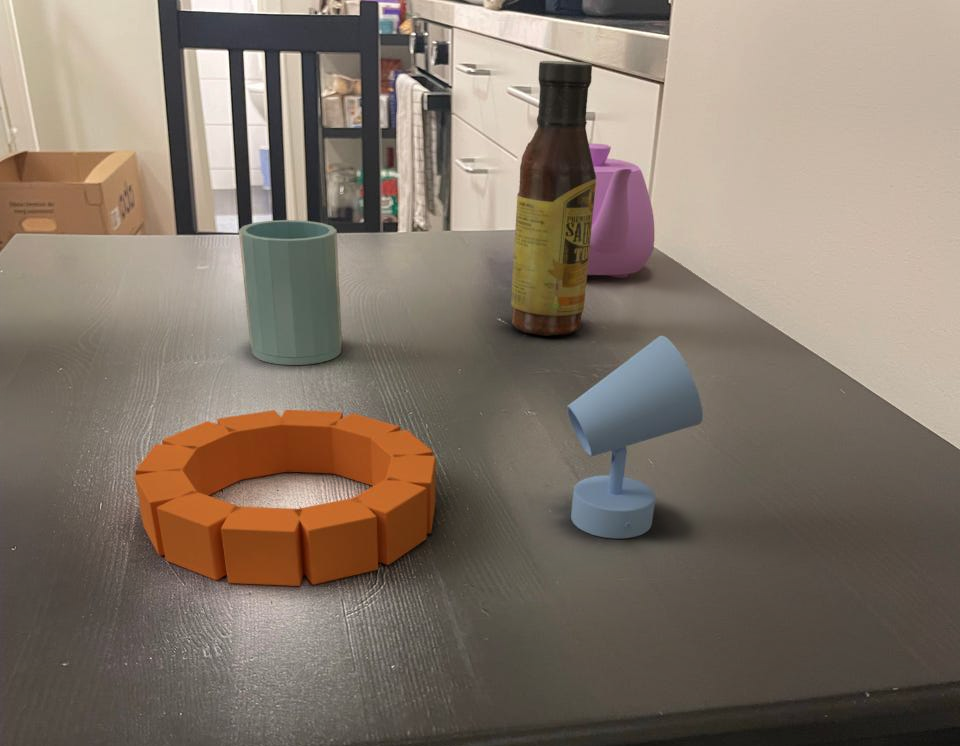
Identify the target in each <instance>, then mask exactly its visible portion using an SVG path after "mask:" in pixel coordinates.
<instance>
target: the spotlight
mask: <svg viewBox="0 0 960 746" xmlns="http://www.w3.org/2000/svg"><path fill="white" fill-rule="evenodd" d="M566 412H567V416H568V418H569V421H570V424H571V426H572V429H573V431H574V433H575V435H576V438H577V439H578V441H579V443H580V445H581V446H582V448H583V450H584V452H586V454H587V455H588V457H596V456H598V455H601V454H605V453H608V452H611V459H610V467H609V475H594V476H590V477H587V478H584V479H581V480H580V481H578V482H577V483H576V484H575V485H574V487H573V491H572V492H573V493H572V501H571V512H570V519H571V522H572V524H573V525H574V526H575V527H576V528H578V529H579V530H580V531H583V532H585V533H587V534H590V535H593V536H597V537H599V538H600V537H602V538H607V539H630V538H636V537H639V536H641V535H644V534H646V533H647V532H648V531H649V530H650V529H652V525H653V518H654V511H655V505H656V497H657V496H656V493H655V491H654V490H653V488H651V487H650V486H649V485H647V484H646V483H644V482H643V481H639V480H638V479H634V478H630V477H626V476H625V471H626V470H625V469H626V461H627V455H628V450H627V447H628V446H631V445H635V444H638V443H641V442H645V441H648V440H651V439H654V438H658V437H662V436H665V435H668V434H672V433H674V432H679V431H681V430H684V429H689V428H692V427H695V426H698V425H700V424H702V422H703V419H704V418H703V417H704V414H703V405H702V401H701V397H700V394H699V390H698V388H697V385H696V382H695V380H694V378H693V374H692V373H691V371H690V369H689V367H688V365H687V363H686V361H685V359H684V358H683V356H682V354H681V353H680V351H679V350H678V349H677V347H676V346H675V344H674V343H673V342H672V341H671V340H670V339H669V338H667V337H666V336H664V335H659V336H658V337H656V338H655V339H653V340H652V341H650V343H648V344H647V345H646V346H645V347H643V348H642V349H640V350H639V351H638V352H636V353H635V354H634V355H633V356H631V357H630V358H629V359H627V360H626V361H625V362H624V363H622V364H620V365H619V366H618V367H617V368H616V369H614V370H612V372H610V373H609V374H608V375H606V376H605V377H603V379H601V380H600V381H598V382H597V383H596V384H595V385H593V386H592V387H591V388H589V389H588V390H587V391H585V392H584V393H583V394H582V395H580V396H579V397H577V398H576V399H575V400H572V402H571V403H569V404H568V405H567V406H566Z"/></svg>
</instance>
